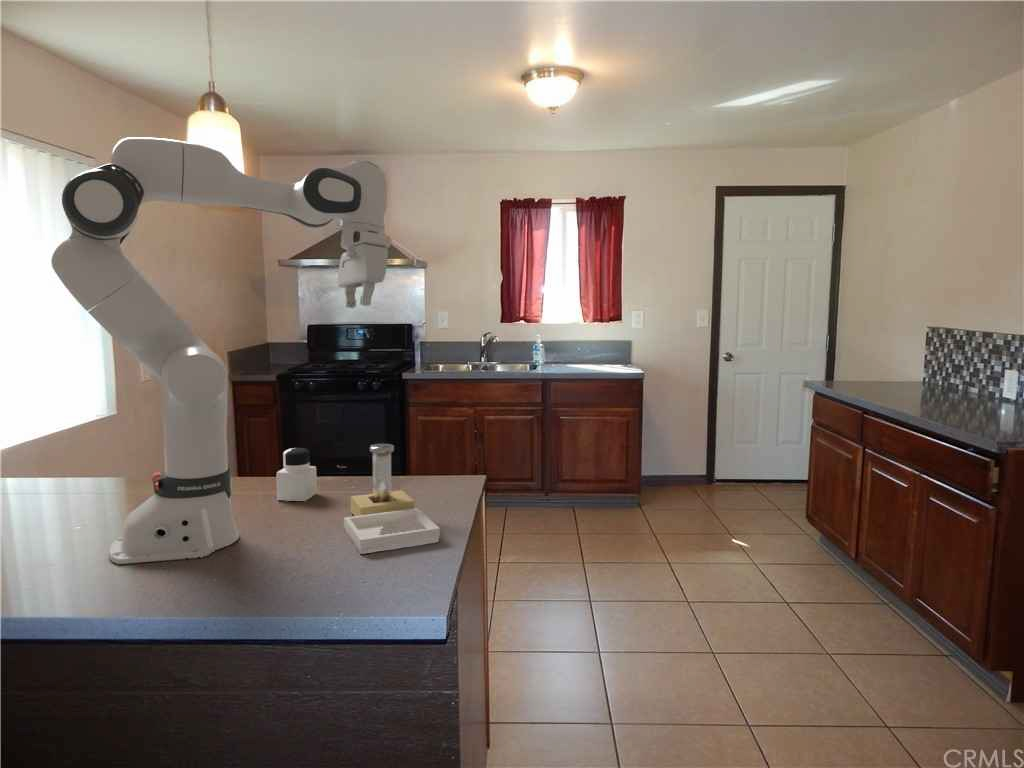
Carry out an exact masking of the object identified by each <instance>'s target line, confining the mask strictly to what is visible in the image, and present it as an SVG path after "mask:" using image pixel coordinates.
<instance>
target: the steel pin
mask: <svg viewBox="0 0 1024 768" xmlns="http://www.w3.org/2000/svg"><path fill="white" fill-rule="evenodd" d="M369 451H370V453H371V454H372V494H373V503H381V502H389V501H391V491H392V453H393V452H394V451H395V445H393V444H392V443H391V444H390V443H375V444H371V445H370V446H369Z"/></svg>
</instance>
